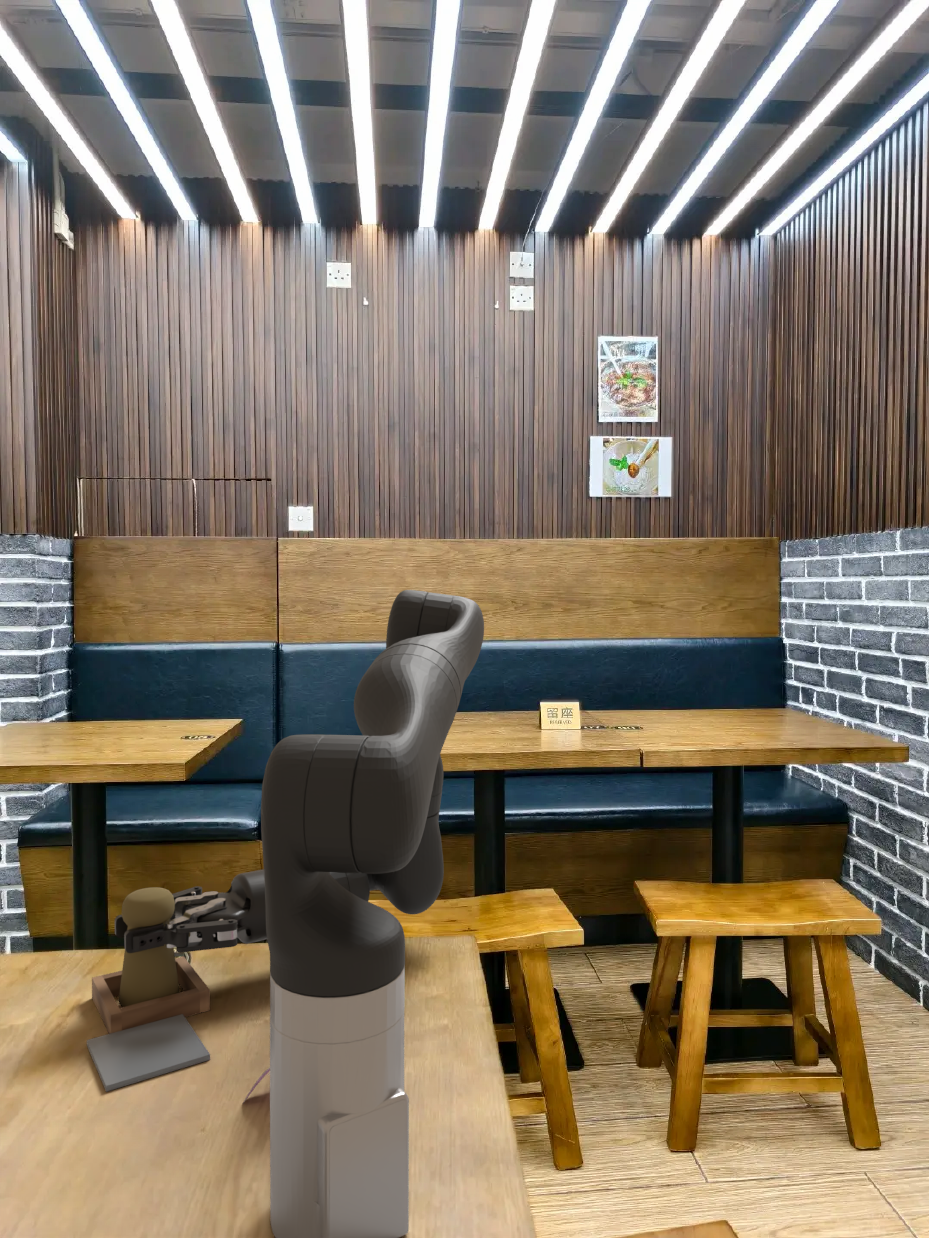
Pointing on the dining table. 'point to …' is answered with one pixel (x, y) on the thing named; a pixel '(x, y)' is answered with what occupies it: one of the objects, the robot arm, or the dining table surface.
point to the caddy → (152, 1010)
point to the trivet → (146, 1051)
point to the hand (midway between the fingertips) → (121, 934)
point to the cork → (152, 967)
